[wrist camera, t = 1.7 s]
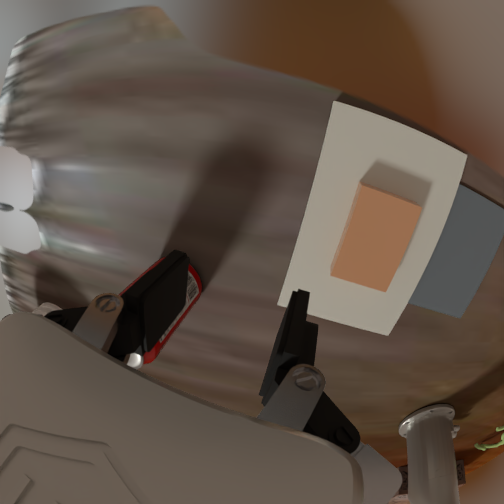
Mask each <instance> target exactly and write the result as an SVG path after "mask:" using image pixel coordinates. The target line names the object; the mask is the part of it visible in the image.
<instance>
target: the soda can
mask: <svg viewBox="0 0 504 504" xmlns="http://www.w3.org/2000/svg"><path fill="white" fill-rule="evenodd" d="M164 258H165V257H163V258H161V259H159V260H158V261H157V262H155V263H154V264H153V265H152V266H151V267H149V268H148V269H147V270H146V271H145V272H144V273H142V274H141V275H140V276H139V277H138V278H137V279H136V280H134V281H133V282H132V283H131V284H130V285H129V286H128V287H126V288H125V289H124V290H123V291H122V292H121V293H120V294H119V296H121V295H122V294H123V293H124V292H125V291H126V290H128V289H129V288H130V287H131V286H132V285H133V284H134V283H135V282H137V281H138V280H139V279H140V278H141V277H142V276H143V275H144V274H146V273H147V272H148V271H149V270H152V269H153V268H154V267H155V266H156V265H157V264H158V263H160V262H161V261H162V260H163V259H164ZM201 292H202V284H201V280H200V277H199V275H198V273H197V272H196V270H195V269H194V268H193V267H192V266H191V265H190V264H189V269H188V281H187V294H186V304H185V306H184V308H183V310H182V311H181V312H180V313H179V315H178V316H177V317H176V319H175V320H174V321H173V323H172V324H171V325H170V326H169V328H168V329H167V330H166V332H165V333H164V334H163V336H162V337H161V338H160V339H159V341H158V342H157V343H156V345H155V346H154V347H153V349H152V350H151V351H150V352H146V353H145V354H144V355H143V357H142V356H140V355H138V354H136V353H132V354H130V358H129V361H128V363H127V365H129V366H131V367H133V368H135V369H138V368H140V367H141V366H142V365H143V364H148V363H151V362H152V361H153V360H154V359H155V358H156V357H157V356H158V354H159V353H160V351H161V350H162V349H163V347H164V346H165V345H166V343H167V342H168V340H169V339H170V338H171V336H172V335H173V334H174V332H175V331H176V329H177V328H178V327H179V325H180V324H181V323H182V321H183V320H184V319H185V317H186V316H187V314H188V313H189V312H190V310H191V309H192V308H193V306H194V305H195V304H196V302H197V301H198V299H199V298H200V295H201Z"/></svg>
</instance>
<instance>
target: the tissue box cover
mask: <svg viewBox="0 0 504 504" xmlns="http://www.w3.org/2000/svg"><path fill="white" fill-rule="evenodd" d="M397 469H398V470H399V472H400V473H401V475H402V484H401V486H400V488H399V490H398V491H397V492H396V494H395V495H394V496H393V497H392V499H391V500H390V501H389V502H388V503H387V504H406V503H410V502H409V499H408V466H407V467H398V468H397ZM456 469H457V480H458V488H459V487H461V486H462V485H464V484H465V483H466V481H465V471H464V462H463V460H457V461H456Z"/></svg>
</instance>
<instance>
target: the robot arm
mask: <svg viewBox="0 0 504 504" xmlns="http://www.w3.org/2000/svg"><path fill="white" fill-rule="evenodd" d="M188 269H189V257H187V255H186V253H184V252H181V251H178V250H174V251H172V252H171V253H170V254H169V255H168V256H167V257H165V258H164V259H163V260H162V261H161V262H160V263H158V264H157V265H156V266H155V267H154V268H153V269H152V270H149V271H148V272H147V273H146V274H144V275H143V276H142V277H141V278H140V279H139V280H138V281H137V282H135V283H134V284H133V285H132V286H131V287H130V288H129V289H128V290H126V291H125V292H124V293H123V294H122V295H121V296H119V295H117V294H114V293H103V294H99V295H98V296H96V297H95V298H94V299H93V300H92V302H91V303H90V305H89V306H88V307H81V308H72V309H63V310H55V311H51V312H49V313H47V314H46V315H45V316H44V317H43V315H42V314H33V313H29V312H16V313H13V314H9V315H7V316H5V317H4V318H3V319H2V320H1V321H0V504H387V503H388V502H389V501H390V500H391V499H392V497H393V496H394V495H395V494H396V492H397V491H398V490H399V488H400V486H401V484H402V475H401V473H400V472H399V470H398V469H397V468H395V467H394V466H393V465H392V464H391V463H389V462H388V461H387V460H386V459H385V458H383V457H382V456H381V455H380V454H379V453H377V452H376V451H375V450H374V449H373V448H372V447H370V446H369V445H368V444H366V445H364V444H363V443H362V442H361V441H360V435H359V432H358V430H357V429H356V428H355V426H354V425H353V424H352V423H351V422H350V421H349V420H348V419H347V418H346V416H345V415H344V414H343V413H342V412H341V411H340V410H339V409H338V407H337V406H336V405H335V404H334V403H333V402H332V401H331V399H330V398H329V397H328V396H327V395H326V394H325V393H324V391H323V390H324V388H325V384H326V381H325V377H324V375H323V373H322V372H321V371H320V370H319V369H317V368H316V367H314V361H315V352H316V344H317V335H318V324H314V323H311V322H308V321H306V317H307V310H308V304H309V297H310V292H308V291H305V290H301V289H298V291H292V294H291V297H290V300H289V303H288V306H287V309H286V312H285V314H284V317H283V320H282V323H281V326H280V328H279V331H278V334H277V337H276V340H275V343H274V347H273V350H272V354H271V357H270V360H269V364H268V367H267V370H266V373H265V377H264V380H263V383H262V386H261V390H260V393H259V395H260V396H263V399H262V404H263V405H264V408H263V410H262V411H261V412H260V414H259V415H258V417H257V418H255V417H252V416H249V415H246V414H243V413H239V412H236V411H234V410H231V409H228V408H225V407H222V406H219V405H217V404H214V403H211V402H209V401H206V400H203V399H201V398H198V397H196V396H193V395H191V394H188V393H186V392H184V391H181V390H179V389H177V388H174V387H172V386H170V385H168V384H165V383H163V382H161V381H159V380H157V379H155V378H153V377H151V376H148V375H146V374H144V373H142V372H140V371H138V370H136V369H135V368H133V367H131V366H129V365H127V363H128V361H129V358H130V354H132V353H136V354H138V355H140V356H142V357H143V355H144V354H145V353H146V352H150V351H151V350H152V349H153V347H154V346H155V345H156V343H157V342H158V341H159V339H160V338H161V337H162V336H163V334H164V333H165V332H166V330H167V329H168V328H169V326H170V325H171V324H172V323H173V321H174V320H175V319H176V317H177V316H178V315H179V313H180V312H181V311H182V310H183V308H184V306H185V304H186V294H187V281H188ZM454 416H455V410H454V408H453V406H451V405H448V404H437V405H432V406H428V407H425V408H422V409H420V410H418V411H416V412H414V413H412V414H410V415H409V416H407V417H406V418H405V419H404V420H403V421H402V422H401V423H400V425H399V434H400V435H401V436H403V437H405V438H407V454H408V499H409V502H410V503H411V504H460V500H459V491H458V480H457V469H456V460H455V452H454V445H453V439H452V438H455V436H456V434H457V432H456V431H458V430H459V429H460V426H459V425H454V426H453V422H452V420H453V418H454Z"/></svg>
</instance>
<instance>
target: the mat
mask: <svg viewBox="0 0 504 504" xmlns="http://www.w3.org/2000/svg"><path fill="white" fill-rule="evenodd" d="M503 235H504V209H503V208H501V207H499V206H498V205H496V204H495V203H493V202H491V201H489V200H488V199H486V198H484V197H483V196H481V195H479V194H477V193H475V192H474V191H472V190H470V189H468V188H466V187H464V186H462V185H460V184H459V186H458V189H457V192H456V195H455V198H454V201H453V204H452V207H451V209H450V212H449V215H448V217H447V220H446V223H445V225H444V228H443V230H442V233H441V235H440V237H439V240H438V242H437V244H436V247H435V249H434V251H433V253H432V256H431V258H430V260H429V262H428V264H427V266H426V268H425V270H424V272H423V274H422V276H421V278H420V280H419V282H418V284H417V286H416V288H415V290H414V292H413V294H412V296H411V297H410V299H409V301H408V303H410V304H413V305H417V306H420V307H423V308H427V309H430V310H434V311H437V312H440V313H444V314H447V315H450V316H454V317H457V318H461V316H462V315H463V313H464V311H465V310H466V308H467V307H468V305H469V303H470V302H471V300H472V298H473V296H474V295H475V293H476V291H477V289H478V287H479V286H480V284H481V282H482V280H483V278H484V276H485V274H486V272H487V270H488V268H489V266H490V264H491V262H492V260H493V258H494V256H495V253H496V251H497V249H498V247H499V244H500V242H501V240H502V237H503Z"/></svg>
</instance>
